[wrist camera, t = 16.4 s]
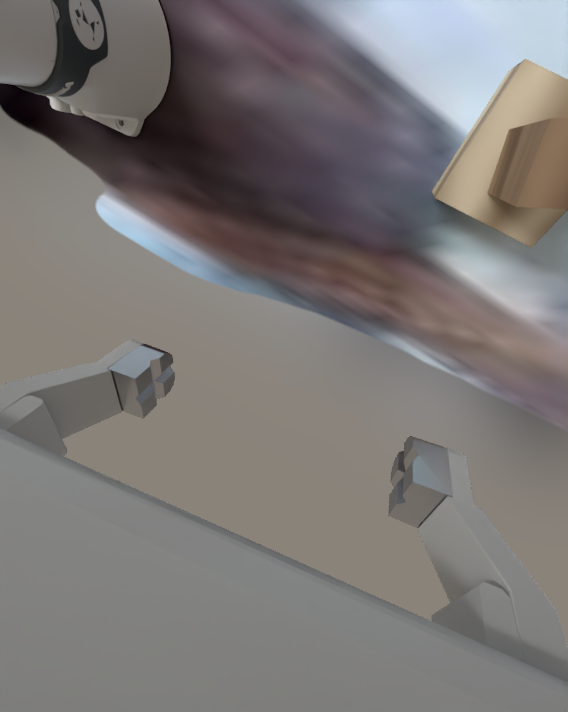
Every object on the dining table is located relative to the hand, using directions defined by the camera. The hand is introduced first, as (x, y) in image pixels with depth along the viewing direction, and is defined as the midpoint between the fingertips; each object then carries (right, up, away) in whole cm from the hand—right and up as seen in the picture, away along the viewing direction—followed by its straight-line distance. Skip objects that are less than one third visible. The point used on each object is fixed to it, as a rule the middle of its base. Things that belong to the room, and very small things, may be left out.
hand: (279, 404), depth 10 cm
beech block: (+24, +22, +23) cm, 40 cm away
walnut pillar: (+22, +19, +18) cm, 34 cm away
